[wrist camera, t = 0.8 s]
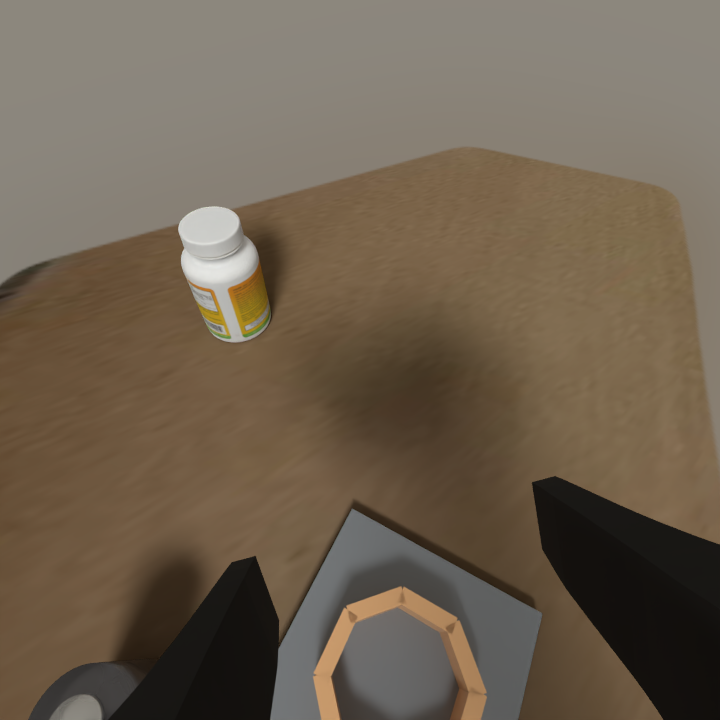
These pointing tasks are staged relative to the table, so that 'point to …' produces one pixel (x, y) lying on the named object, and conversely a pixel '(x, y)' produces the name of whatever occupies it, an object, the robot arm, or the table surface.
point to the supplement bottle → (224, 274)
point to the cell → (91, 690)
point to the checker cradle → (402, 638)
